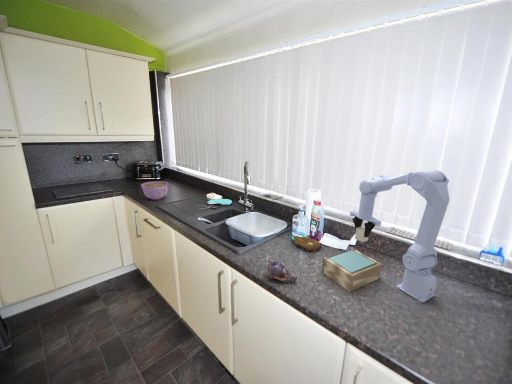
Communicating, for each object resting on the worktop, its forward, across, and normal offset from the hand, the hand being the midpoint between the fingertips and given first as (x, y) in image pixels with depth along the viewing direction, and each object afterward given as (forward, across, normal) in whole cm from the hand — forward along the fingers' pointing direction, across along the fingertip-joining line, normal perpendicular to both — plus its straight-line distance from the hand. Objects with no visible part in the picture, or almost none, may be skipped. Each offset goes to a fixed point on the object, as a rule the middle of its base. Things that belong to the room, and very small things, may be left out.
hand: (362, 234), depth 110 cm
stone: (+2, 0, 0) cm, 2 cm away
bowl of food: (+10, +132, +72) cm, 151 cm away
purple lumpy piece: (+10, +2, +44) cm, 45 cm away
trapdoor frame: (+10, -10, +18) cm, 22 cm away
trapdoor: (+4, -9, +18) cm, 20 cm away
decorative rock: (+10, +18, +17) cm, 27 cm away
